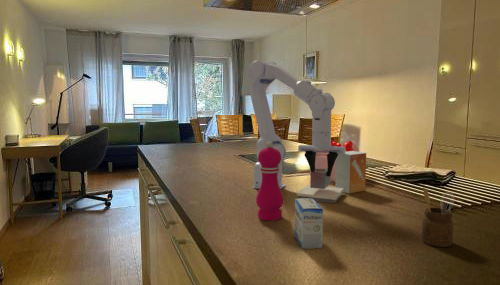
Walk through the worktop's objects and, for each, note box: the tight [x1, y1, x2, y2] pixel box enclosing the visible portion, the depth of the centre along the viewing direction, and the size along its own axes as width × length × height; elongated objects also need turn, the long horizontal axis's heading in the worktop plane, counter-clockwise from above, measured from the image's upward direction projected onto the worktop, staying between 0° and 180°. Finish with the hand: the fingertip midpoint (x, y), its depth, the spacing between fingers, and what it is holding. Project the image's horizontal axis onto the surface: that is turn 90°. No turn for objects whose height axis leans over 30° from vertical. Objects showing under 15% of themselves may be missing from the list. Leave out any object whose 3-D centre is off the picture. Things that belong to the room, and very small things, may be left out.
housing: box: [309, 168, 331, 189], centre depth 113 cm, size 4×7×6 cm, turn 154°
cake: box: [309, 139, 360, 183], centre depth 143 cm, size 20×20×14 cm
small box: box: [335, 151, 367, 195], centre depth 121 cm, size 8×6×13 cm
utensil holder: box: [421, 186, 455, 248], centre depth 76 cm, size 6×6×12 cm
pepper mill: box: [255, 142, 285, 222], centre depth 94 cm, size 7×7×20 cm
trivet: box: [296, 184, 344, 204], centre depth 114 cm, size 12×12×2 cm
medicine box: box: [293, 198, 324, 250], centre depth 77 cm, size 8×4×9 cm, turn 5°
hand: (321, 175), depth 113 cm, fingers closed on housing, 4 cm apart
